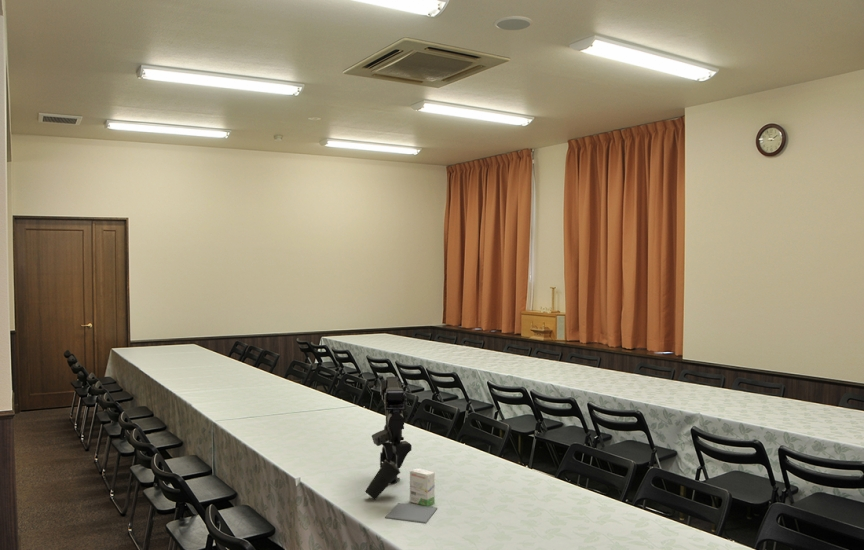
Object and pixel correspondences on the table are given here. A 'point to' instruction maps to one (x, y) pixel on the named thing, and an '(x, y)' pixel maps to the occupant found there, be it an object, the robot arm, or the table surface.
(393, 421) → the robot arm
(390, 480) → the drinking cup
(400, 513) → the felt mat
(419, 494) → the ink box
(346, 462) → the table surface
